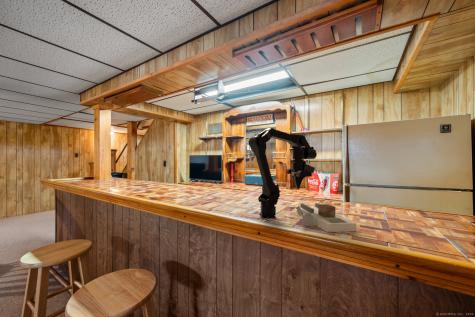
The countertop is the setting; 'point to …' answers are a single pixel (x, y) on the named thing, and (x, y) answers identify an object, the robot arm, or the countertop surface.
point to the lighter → (305, 217)
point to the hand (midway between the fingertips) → (298, 189)
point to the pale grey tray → (328, 220)
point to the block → (326, 210)
